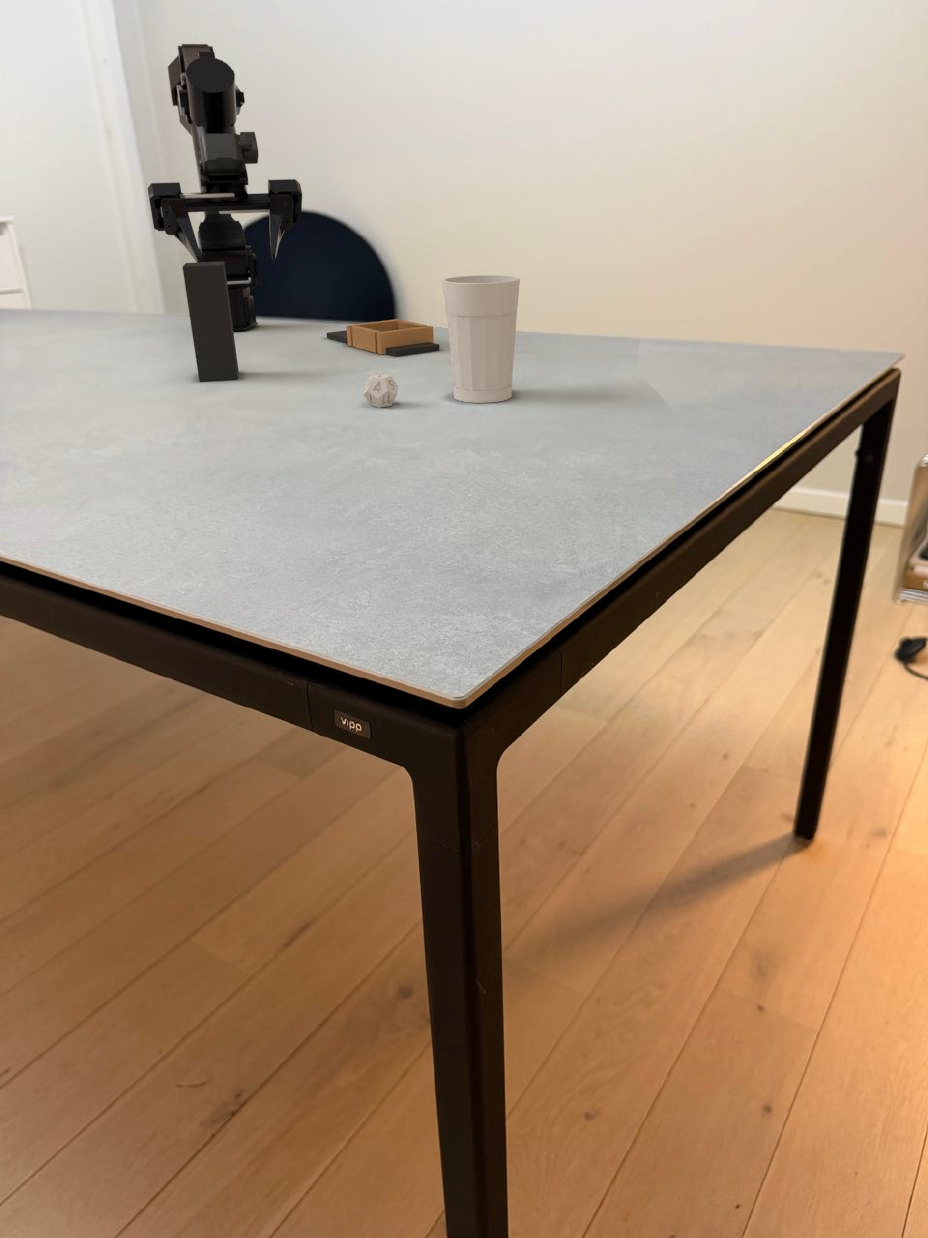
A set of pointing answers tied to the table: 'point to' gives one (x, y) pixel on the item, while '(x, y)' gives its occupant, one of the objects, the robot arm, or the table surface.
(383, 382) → the game die
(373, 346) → the wooden tray on slab
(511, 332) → the cup
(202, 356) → the dark rectangular block
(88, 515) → the table surface
